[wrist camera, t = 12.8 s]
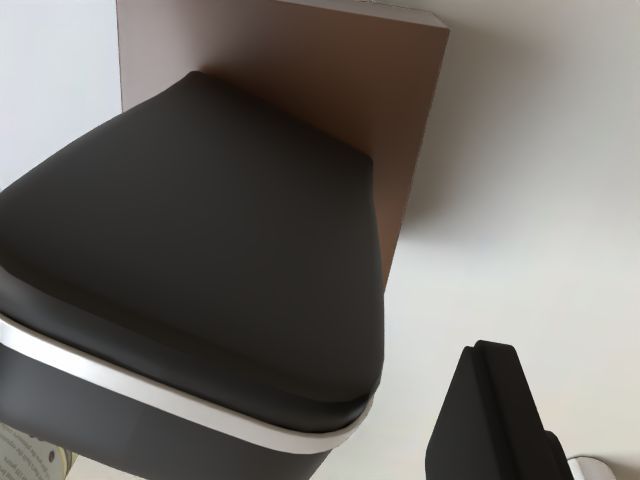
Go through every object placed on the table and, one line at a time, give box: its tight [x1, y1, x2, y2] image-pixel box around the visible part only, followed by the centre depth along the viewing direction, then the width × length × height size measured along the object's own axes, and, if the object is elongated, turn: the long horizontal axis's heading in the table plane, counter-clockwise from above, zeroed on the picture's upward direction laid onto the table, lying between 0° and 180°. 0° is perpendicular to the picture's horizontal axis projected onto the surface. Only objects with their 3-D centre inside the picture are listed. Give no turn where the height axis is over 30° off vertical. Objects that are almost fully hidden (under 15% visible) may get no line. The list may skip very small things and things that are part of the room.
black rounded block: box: [0, 71, 384, 480], centre depth 12 cm, size 7×4×11 cm, turn 64°
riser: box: [116, 0, 450, 292], centre depth 19 cm, size 10×10×5 cm
